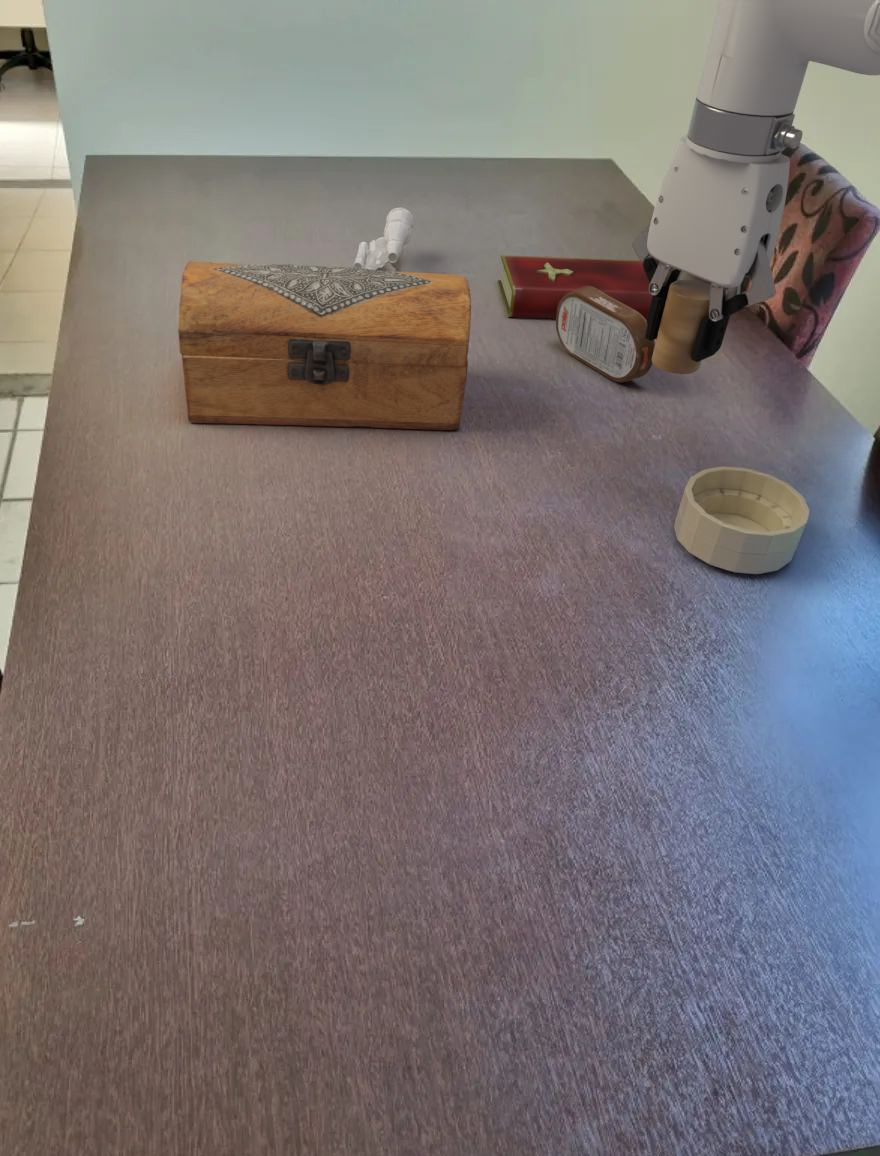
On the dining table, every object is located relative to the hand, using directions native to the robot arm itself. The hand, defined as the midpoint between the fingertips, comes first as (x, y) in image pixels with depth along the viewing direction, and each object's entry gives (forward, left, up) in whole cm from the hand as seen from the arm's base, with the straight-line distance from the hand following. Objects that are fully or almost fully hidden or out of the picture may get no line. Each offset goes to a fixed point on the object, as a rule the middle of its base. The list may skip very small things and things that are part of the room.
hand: (680, 344), depth 89 cm
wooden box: (+34, +14, -16) cm, 40 cm away
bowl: (-11, 0, -16) cm, 19 cm away
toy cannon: (+59, -16, -16) cm, 63 cm away
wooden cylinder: (0, 0, -2) cm, 2 cm away
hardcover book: (+35, -31, -16) cm, 49 cm away
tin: (+21, -18, -16) cm, 32 cm away
